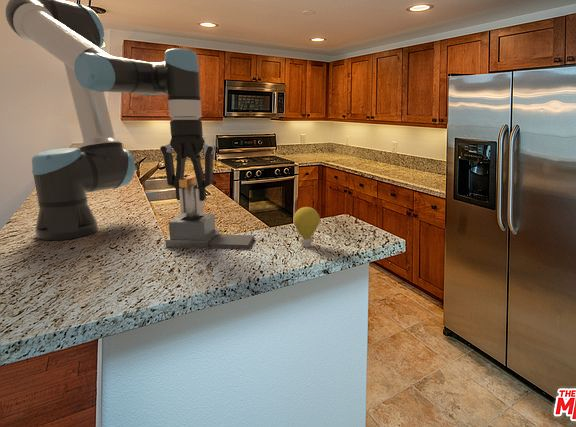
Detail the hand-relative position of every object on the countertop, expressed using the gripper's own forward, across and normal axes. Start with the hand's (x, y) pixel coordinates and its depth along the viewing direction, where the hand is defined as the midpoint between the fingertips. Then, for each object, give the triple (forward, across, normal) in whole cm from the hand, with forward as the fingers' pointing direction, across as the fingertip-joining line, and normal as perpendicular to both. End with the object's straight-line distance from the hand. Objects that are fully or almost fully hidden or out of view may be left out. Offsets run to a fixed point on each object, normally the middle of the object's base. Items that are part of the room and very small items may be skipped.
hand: (192, 212), depth 94 cm
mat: (+8, -10, 0) cm, 13 cm away
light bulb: (+8, -30, 0) cm, 31 cm away
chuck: (+8, 0, 0) cm, 8 cm away
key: (+5, 0, 0) cm, 5 cm away
